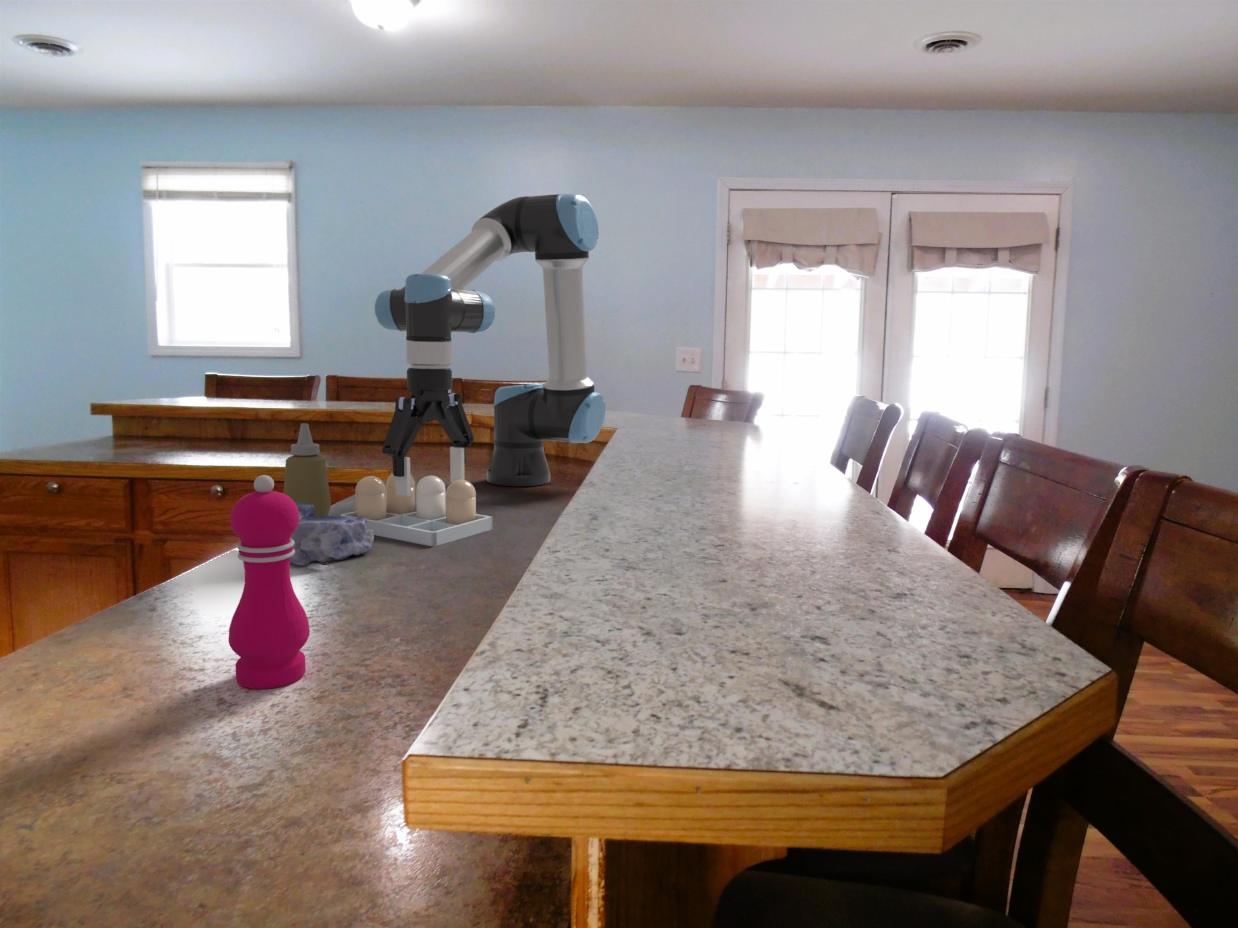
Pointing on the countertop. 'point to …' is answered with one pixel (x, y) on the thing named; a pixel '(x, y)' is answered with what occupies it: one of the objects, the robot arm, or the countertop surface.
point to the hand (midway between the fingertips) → (431, 488)
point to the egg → (430, 498)
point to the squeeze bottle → (307, 474)
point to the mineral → (328, 537)
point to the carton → (425, 528)
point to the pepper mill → (267, 591)
